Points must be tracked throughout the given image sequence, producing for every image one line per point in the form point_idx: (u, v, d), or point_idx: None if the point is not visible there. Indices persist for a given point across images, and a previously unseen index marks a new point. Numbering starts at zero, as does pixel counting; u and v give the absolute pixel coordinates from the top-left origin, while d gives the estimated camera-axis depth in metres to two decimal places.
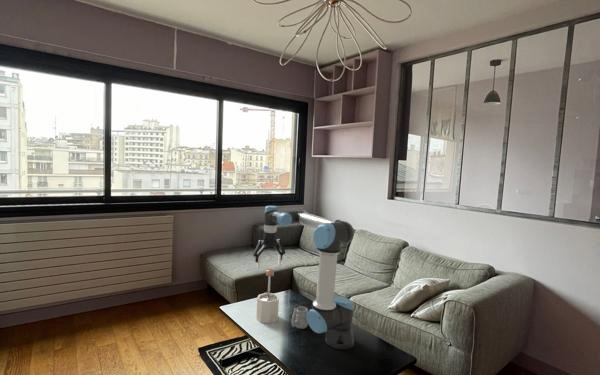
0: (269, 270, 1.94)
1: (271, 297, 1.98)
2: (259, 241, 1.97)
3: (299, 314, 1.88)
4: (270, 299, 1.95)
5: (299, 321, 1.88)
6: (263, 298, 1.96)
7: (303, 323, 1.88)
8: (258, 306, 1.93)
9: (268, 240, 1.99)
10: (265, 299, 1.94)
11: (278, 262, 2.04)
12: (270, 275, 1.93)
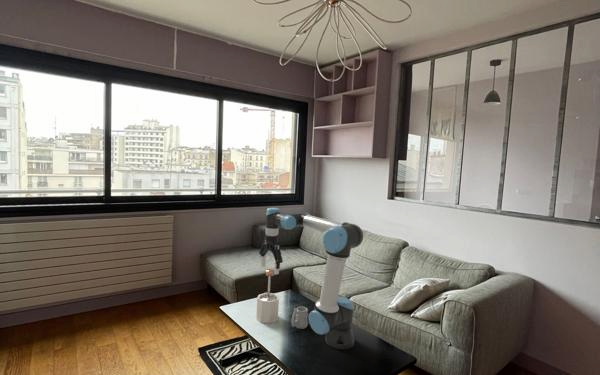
0: (269, 270, 1.94)
1: (271, 297, 1.98)
2: None
3: (299, 314, 1.88)
4: (270, 299, 1.95)
5: (299, 321, 1.88)
6: (263, 298, 1.96)
7: (303, 323, 1.88)
8: (258, 306, 1.93)
9: (268, 242, 1.94)
10: (265, 299, 1.94)
11: None
12: (270, 275, 1.93)
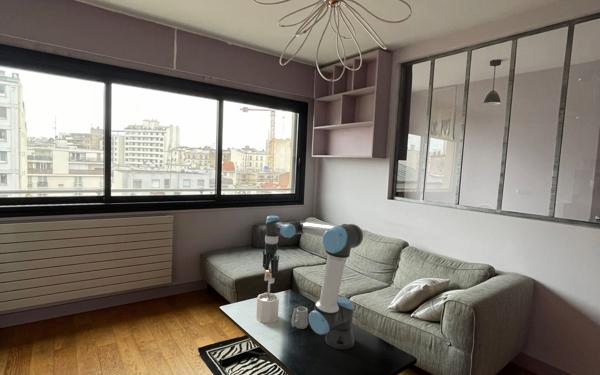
0: (269, 270, 1.94)
1: (271, 297, 1.98)
2: (263, 251, 1.99)
3: (299, 314, 1.88)
4: (270, 299, 1.95)
5: (299, 321, 1.88)
6: (263, 298, 1.96)
7: (303, 323, 1.88)
8: (258, 306, 1.93)
9: None
10: (265, 299, 1.94)
11: None
12: None
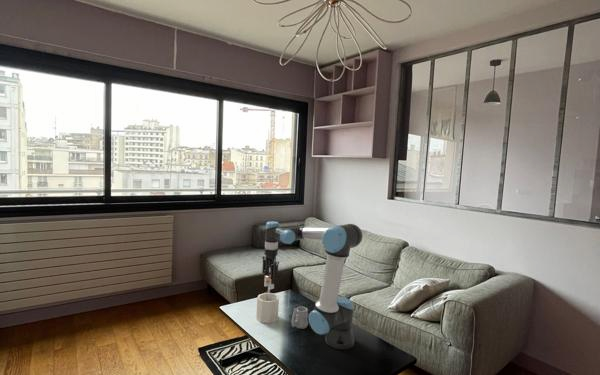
0: (269, 276, 1.95)
1: None
2: (263, 257, 1.99)
3: (299, 314, 1.88)
4: None
5: (299, 321, 1.88)
6: None
7: (303, 323, 1.88)
8: (258, 306, 1.93)
9: None
10: None
11: None
12: None
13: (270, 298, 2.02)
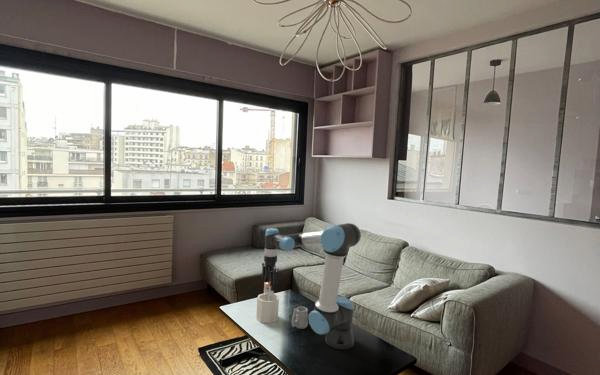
0: (268, 282, 1.95)
1: None
2: None
3: (299, 314, 1.88)
4: None
5: (299, 321, 1.88)
6: None
7: (303, 323, 1.88)
8: (258, 306, 1.93)
9: None
10: None
11: None
12: None
13: (270, 298, 2.02)
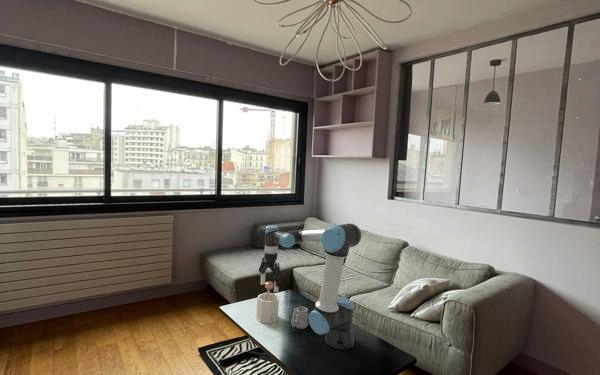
0: (268, 283, 1.95)
1: None
2: None
3: (299, 314, 1.88)
4: None
5: (299, 321, 1.88)
6: None
7: (303, 323, 1.88)
8: (258, 306, 1.93)
9: (267, 260, 1.95)
10: None
11: None
12: (269, 288, 1.94)
13: (270, 298, 2.02)
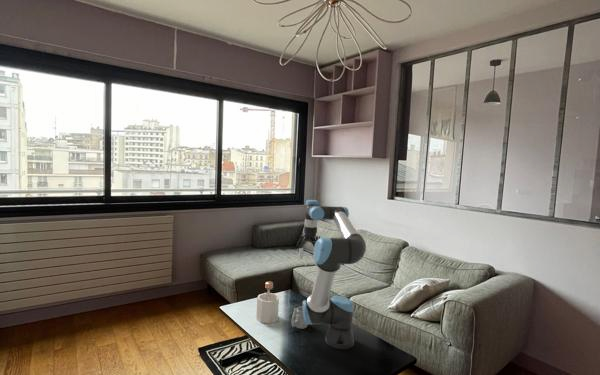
0: (268, 283, 1.95)
1: None
2: (301, 233, 2.02)
3: (299, 314, 1.88)
4: None
5: (299, 321, 1.88)
6: None
7: (303, 323, 1.88)
8: (258, 306, 1.93)
9: (307, 234, 1.98)
10: None
11: None
12: (269, 288, 1.94)
13: (270, 298, 2.02)
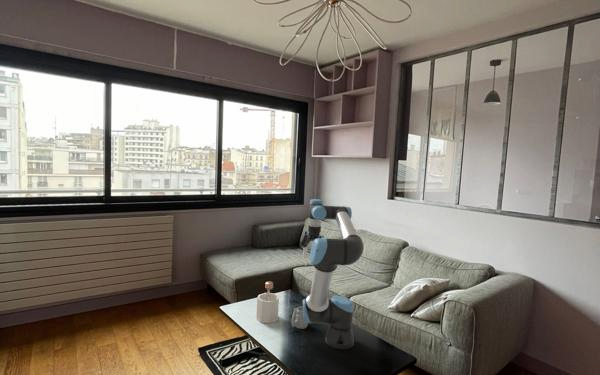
0: (268, 283, 1.95)
1: None
2: None
3: (299, 314, 1.88)
4: None
5: (299, 321, 1.88)
6: None
7: (303, 323, 1.88)
8: (258, 306, 1.93)
9: (311, 233, 1.98)
10: None
11: None
12: (269, 288, 1.94)
13: (270, 298, 2.02)
